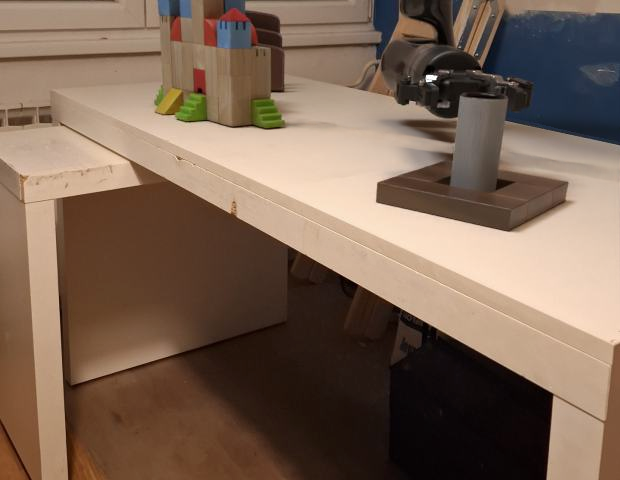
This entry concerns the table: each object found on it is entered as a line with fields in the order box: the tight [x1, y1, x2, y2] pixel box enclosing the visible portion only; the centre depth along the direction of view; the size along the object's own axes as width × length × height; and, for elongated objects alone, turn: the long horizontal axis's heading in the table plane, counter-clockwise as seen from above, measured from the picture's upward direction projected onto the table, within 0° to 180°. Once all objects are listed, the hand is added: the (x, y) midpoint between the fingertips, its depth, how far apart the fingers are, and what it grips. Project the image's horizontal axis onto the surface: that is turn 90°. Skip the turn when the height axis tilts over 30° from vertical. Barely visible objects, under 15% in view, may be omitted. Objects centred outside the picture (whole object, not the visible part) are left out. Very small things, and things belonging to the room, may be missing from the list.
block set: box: [153, 0, 286, 129], centre depth 115 cm, size 28×14×19 cm, turn 37°
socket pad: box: [375, 159, 569, 232], centre depth 76 cm, size 14×14×2 cm
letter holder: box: [245, 9, 286, 93], centre depth 145 cm, size 10×20×14 cm, turn 98°
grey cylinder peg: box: [450, 92, 508, 193], centre depth 75 cm, size 4×4×10 cm
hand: (477, 100), depth 75 cm, fingers open, 8 cm apart
